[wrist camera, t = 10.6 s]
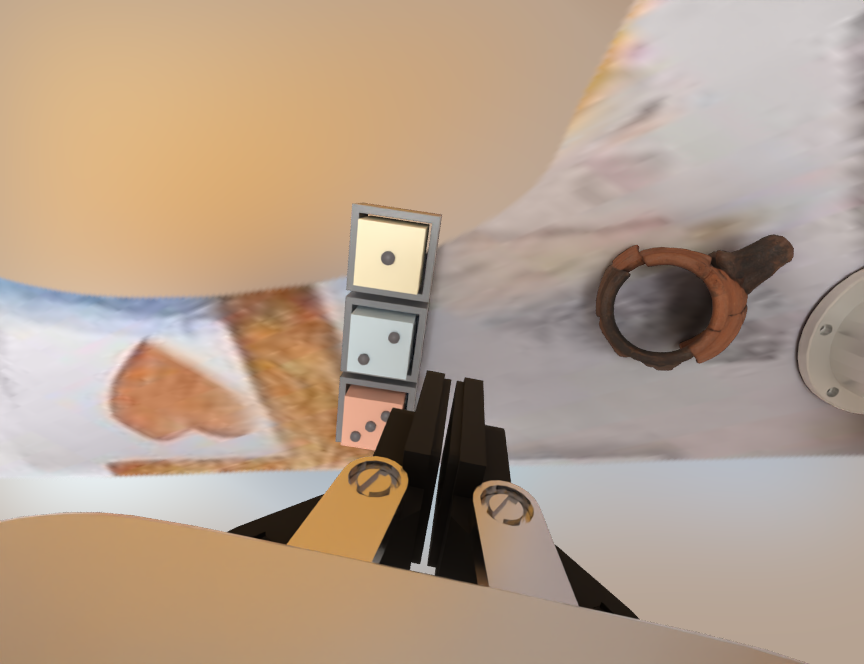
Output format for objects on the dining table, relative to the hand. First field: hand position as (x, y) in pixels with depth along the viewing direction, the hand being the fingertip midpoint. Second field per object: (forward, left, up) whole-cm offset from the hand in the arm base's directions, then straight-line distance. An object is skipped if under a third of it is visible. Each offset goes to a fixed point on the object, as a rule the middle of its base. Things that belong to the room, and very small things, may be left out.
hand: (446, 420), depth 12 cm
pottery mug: (-16, -2, -21) cm, 27 cm away
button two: (+5, +5, -20) cm, 21 cm away
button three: (+5, +11, -20) cm, 23 cm away
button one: (+5, -2, -20) cm, 21 cm away
